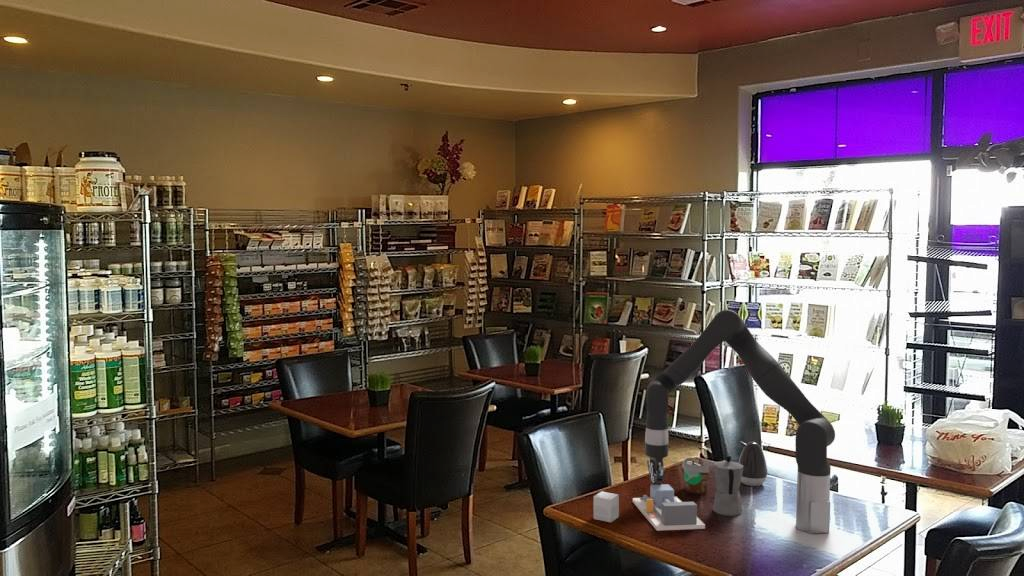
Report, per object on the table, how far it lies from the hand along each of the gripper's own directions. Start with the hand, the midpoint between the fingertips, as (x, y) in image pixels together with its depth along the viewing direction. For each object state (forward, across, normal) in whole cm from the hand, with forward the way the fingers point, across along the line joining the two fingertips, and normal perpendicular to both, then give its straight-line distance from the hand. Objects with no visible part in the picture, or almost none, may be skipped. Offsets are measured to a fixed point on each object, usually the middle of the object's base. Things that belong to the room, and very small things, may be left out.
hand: (655, 492), depth 262 cm
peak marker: (+2, -13, +6) cm, 15 cm away
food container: (+3, +10, -16) cm, 19 cm away
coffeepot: (+3, -12, -20) cm, 24 cm away
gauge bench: (+3, -12, 0) cm, 12 cm away
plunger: (+1, -9, +2) cm, 10 cm away
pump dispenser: (+3, +15, -40) cm, 43 cm away
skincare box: (+3, -13, +20) cm, 24 cm away
